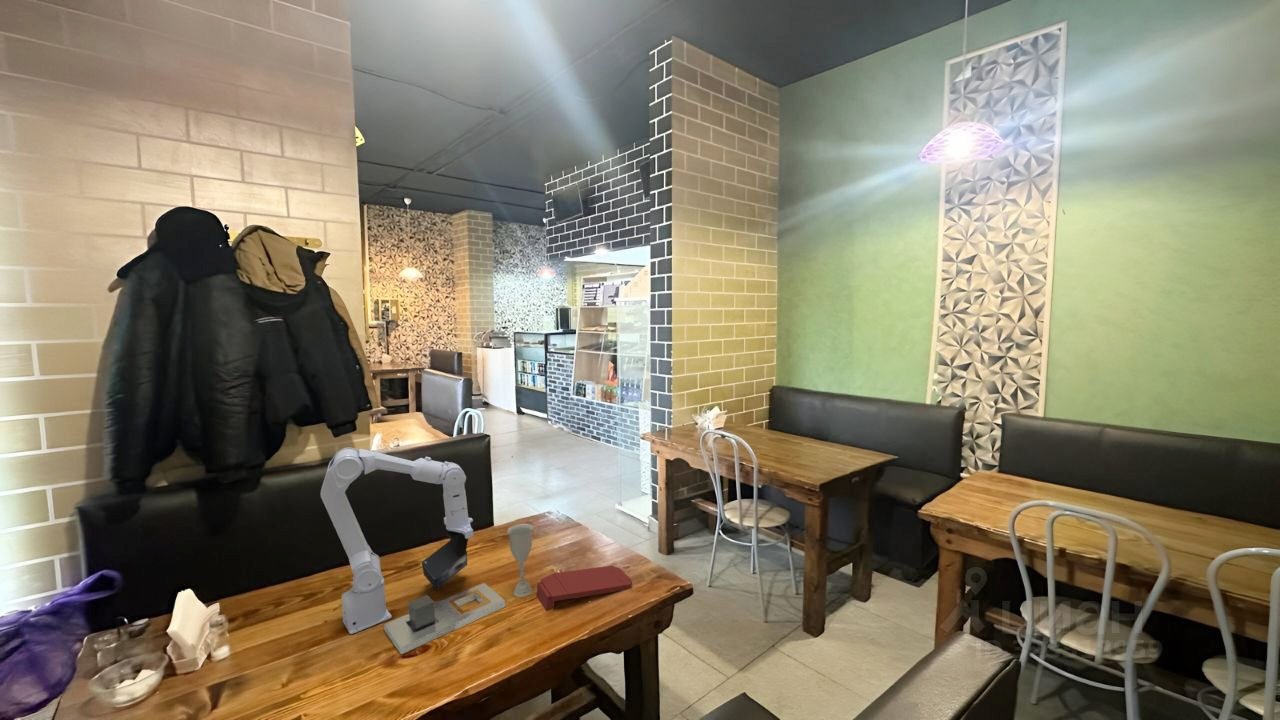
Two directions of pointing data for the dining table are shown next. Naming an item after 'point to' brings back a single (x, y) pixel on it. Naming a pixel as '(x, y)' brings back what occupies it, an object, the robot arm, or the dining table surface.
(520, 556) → the chalice
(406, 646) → the rail plate
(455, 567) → the small box
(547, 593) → the carton
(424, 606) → the post
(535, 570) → the dining table surface
